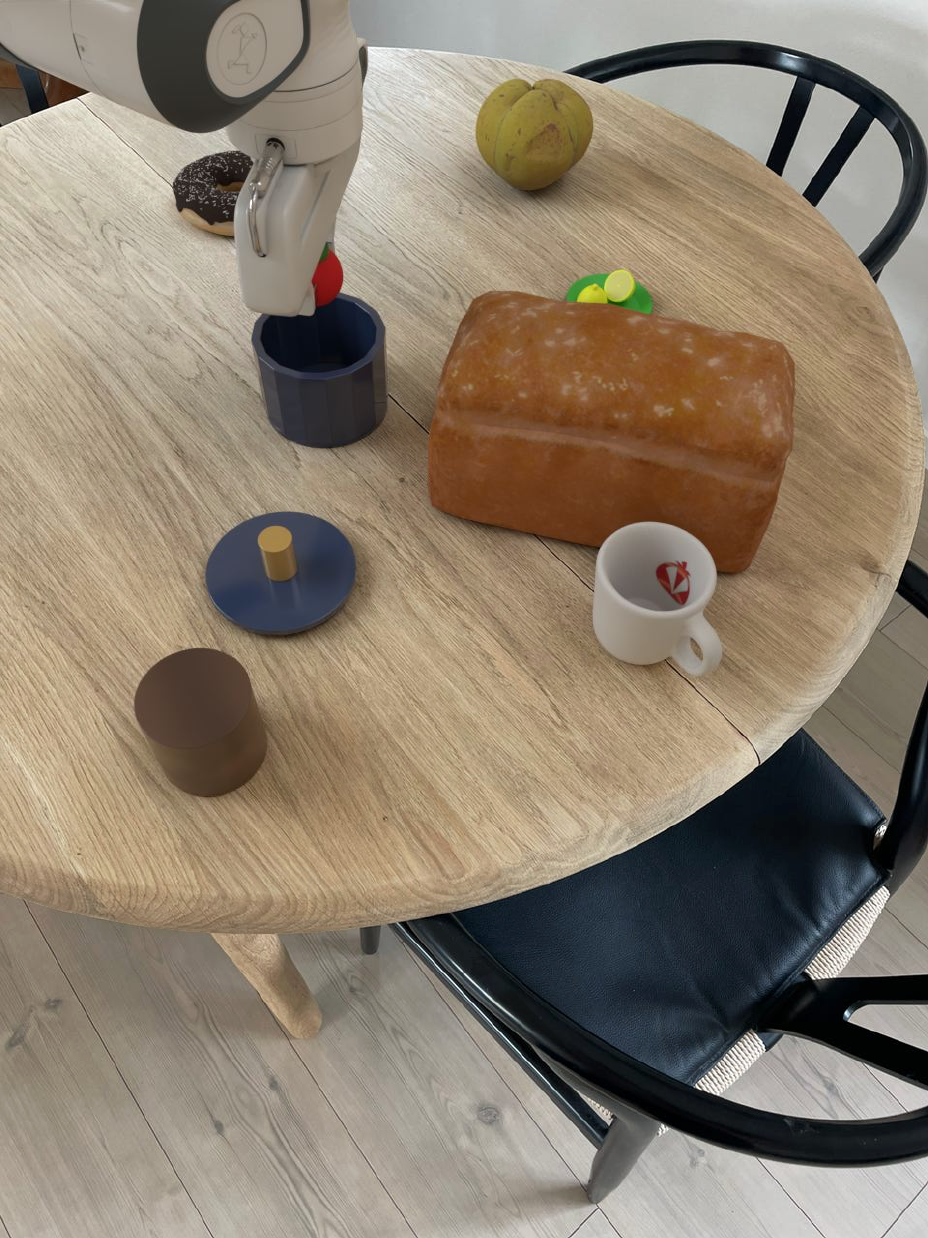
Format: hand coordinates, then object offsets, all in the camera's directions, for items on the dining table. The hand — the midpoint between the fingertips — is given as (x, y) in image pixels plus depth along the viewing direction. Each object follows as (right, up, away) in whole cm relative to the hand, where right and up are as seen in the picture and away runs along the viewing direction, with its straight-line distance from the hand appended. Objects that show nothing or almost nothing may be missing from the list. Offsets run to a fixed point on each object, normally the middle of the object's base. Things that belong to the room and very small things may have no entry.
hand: (313, 284), depth 73 cm
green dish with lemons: (+25, +4, +18) cm, 31 cm away
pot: (0, -7, +10) cm, 12 cm away
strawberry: (0, -1, +1) cm, 1 cm away
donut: (-12, +16, +25) cm, 32 cm away
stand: (-5, -34, -8) cm, 35 cm away
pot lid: (-2, -22, -1) cm, 22 cm away
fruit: (+18, +21, +29) cm, 40 cm away
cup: (+25, -27, -3) cm, 37 cm away
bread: (+22, -15, +6) cm, 27 cm away
